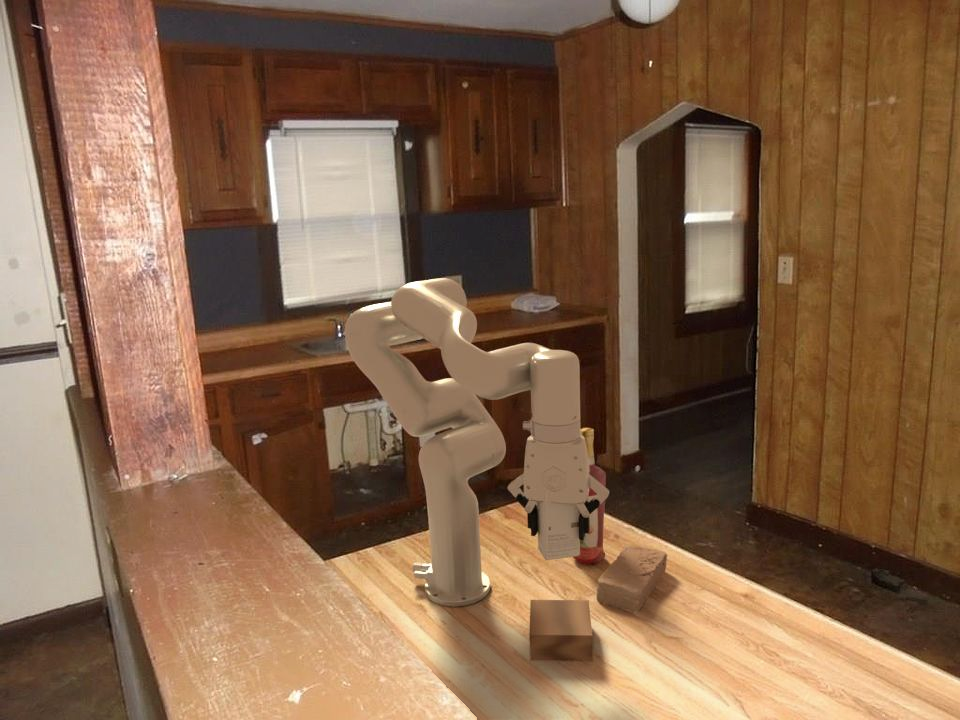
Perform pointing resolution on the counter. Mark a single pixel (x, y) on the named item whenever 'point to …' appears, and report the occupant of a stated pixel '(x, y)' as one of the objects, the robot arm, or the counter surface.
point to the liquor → (594, 540)
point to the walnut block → (560, 631)
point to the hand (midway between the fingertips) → (558, 533)
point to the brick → (631, 577)
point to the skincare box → (558, 529)
